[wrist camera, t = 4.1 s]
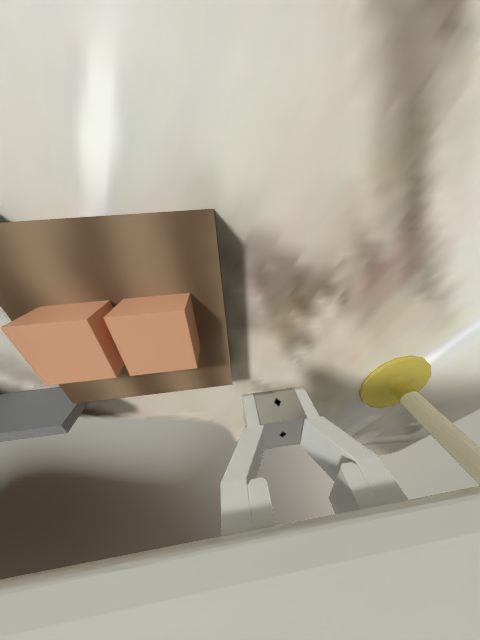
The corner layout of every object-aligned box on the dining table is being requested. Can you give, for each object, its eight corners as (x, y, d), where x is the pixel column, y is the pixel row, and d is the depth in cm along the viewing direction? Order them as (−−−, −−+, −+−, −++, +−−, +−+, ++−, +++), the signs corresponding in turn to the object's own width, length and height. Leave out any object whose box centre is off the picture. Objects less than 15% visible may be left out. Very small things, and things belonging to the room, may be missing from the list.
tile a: (190, 292, 15) (184, 309, 12) (200, 344, 17) (197, 368, 15) (123, 298, 15) (103, 317, 12) (143, 350, 17) (130, 375, 14)
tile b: (109, 299, 15) (86, 319, 12) (131, 352, 17) (116, 377, 14) (39, 306, 14) (0, 327, 12) (72, 358, 17) (46, 385, 14)
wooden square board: (214, 209, 15) (213, 208, 12) (230, 364, 23) (232, 384, 20) (-7, 223, 14) (-59, 226, 11) (90, 381, 22) (73, 403, 19)
